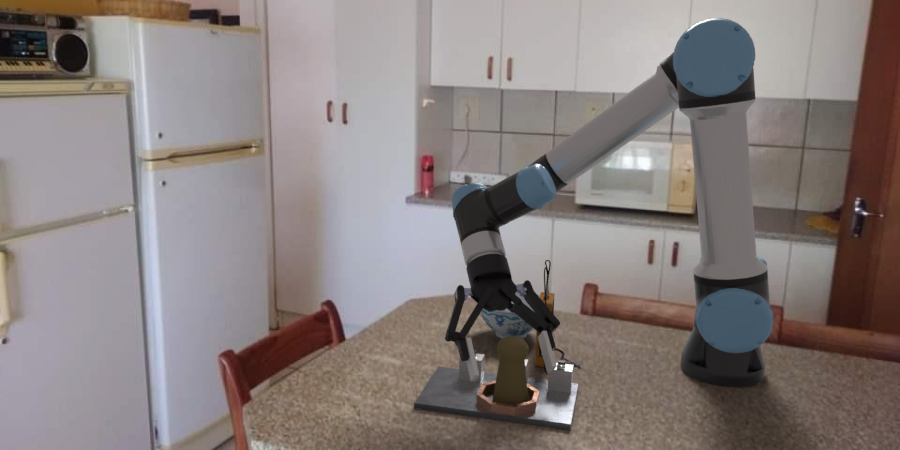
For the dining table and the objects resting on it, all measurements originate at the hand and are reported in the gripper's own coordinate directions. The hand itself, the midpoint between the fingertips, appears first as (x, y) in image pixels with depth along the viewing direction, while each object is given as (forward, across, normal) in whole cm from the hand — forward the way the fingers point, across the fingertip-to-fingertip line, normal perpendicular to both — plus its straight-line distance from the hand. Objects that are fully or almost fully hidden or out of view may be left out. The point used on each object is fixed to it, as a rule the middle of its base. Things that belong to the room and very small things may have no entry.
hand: (514, 374), depth 119 cm
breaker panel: (+1, 0, -9) cm, 9 cm away
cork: (+3, 0, -6) cm, 6 cm away
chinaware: (-18, -13, -28) cm, 36 cm away
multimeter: (-7, -17, -17) cm, 25 cm away
